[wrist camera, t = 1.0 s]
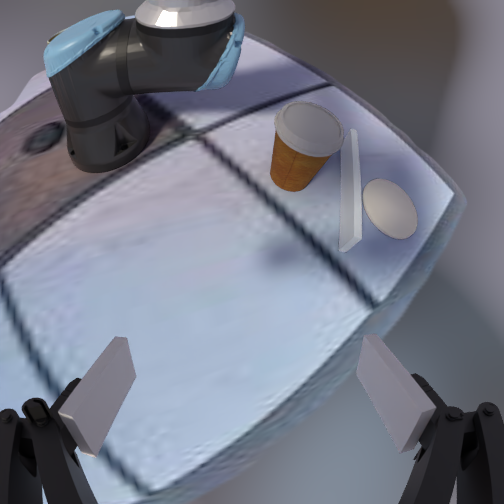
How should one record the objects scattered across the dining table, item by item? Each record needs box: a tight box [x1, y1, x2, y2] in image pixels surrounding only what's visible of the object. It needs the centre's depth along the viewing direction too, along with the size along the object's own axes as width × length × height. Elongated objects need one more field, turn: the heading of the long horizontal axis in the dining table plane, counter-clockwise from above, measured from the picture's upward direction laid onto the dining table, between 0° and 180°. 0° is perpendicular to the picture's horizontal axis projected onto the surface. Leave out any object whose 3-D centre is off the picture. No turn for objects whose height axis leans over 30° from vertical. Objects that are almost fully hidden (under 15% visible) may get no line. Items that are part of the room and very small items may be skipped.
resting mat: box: [362, 179, 418, 239], centre depth 44 cm, size 12×12×1 cm
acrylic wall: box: [338, 129, 362, 253], centre depth 41 cm, size 22×1×5 cm, turn 169°
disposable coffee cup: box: [270, 101, 344, 192], centre depth 37 cm, size 10×10×12 cm
